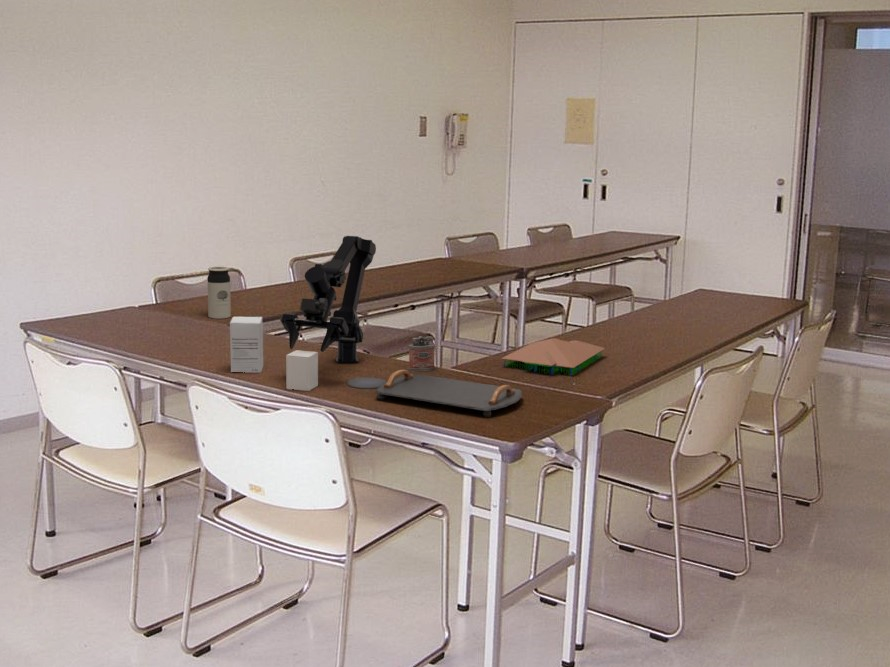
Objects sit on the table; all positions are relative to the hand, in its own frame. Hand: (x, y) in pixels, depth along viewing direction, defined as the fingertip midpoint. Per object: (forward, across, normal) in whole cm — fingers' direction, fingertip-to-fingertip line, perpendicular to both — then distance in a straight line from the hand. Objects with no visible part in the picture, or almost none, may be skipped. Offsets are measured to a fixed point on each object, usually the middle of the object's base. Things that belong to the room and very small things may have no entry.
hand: (306, 349), depth 292 cm
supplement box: (0, -23, +15) cm, 27 cm away
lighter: (-13, +25, +27) cm, 39 cm away
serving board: (+7, +41, +8) cm, 43 cm away
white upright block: (+9, 0, +5) cm, 10 cm away
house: (-29, +60, +44) cm, 80 cm away
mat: (+2, +15, +12) cm, 20 cm away
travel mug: (-48, -68, +62) cm, 104 cm away
